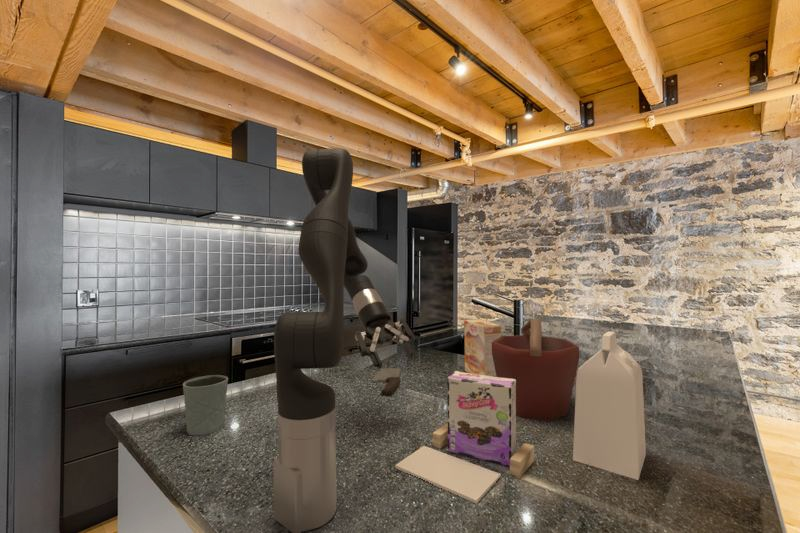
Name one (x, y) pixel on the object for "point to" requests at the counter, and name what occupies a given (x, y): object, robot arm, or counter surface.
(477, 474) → the board
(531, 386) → the bucket
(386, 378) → the cleaver
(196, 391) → the green cup
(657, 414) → the counter surface
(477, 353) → the coffeecake box
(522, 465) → the block
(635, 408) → the milk
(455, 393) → the candy box
